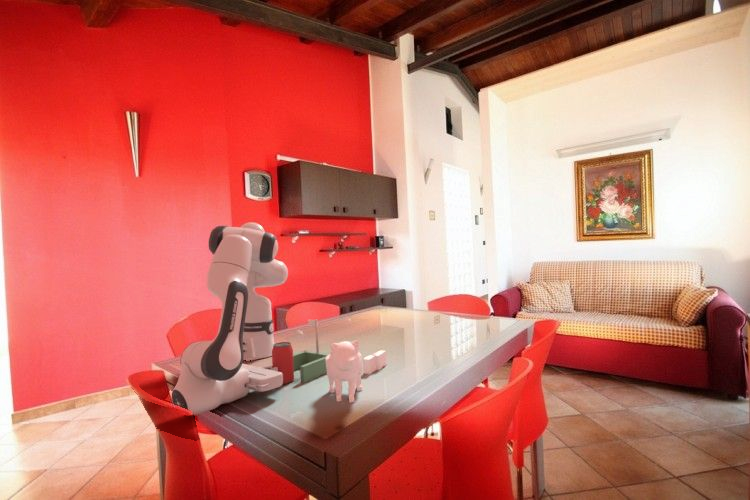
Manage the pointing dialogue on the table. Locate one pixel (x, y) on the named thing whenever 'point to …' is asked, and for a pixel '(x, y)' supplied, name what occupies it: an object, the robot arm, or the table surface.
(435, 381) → the table surface
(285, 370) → the beer can
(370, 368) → the napkin holder
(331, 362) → the cat figurine
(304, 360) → the green low-walled tray
